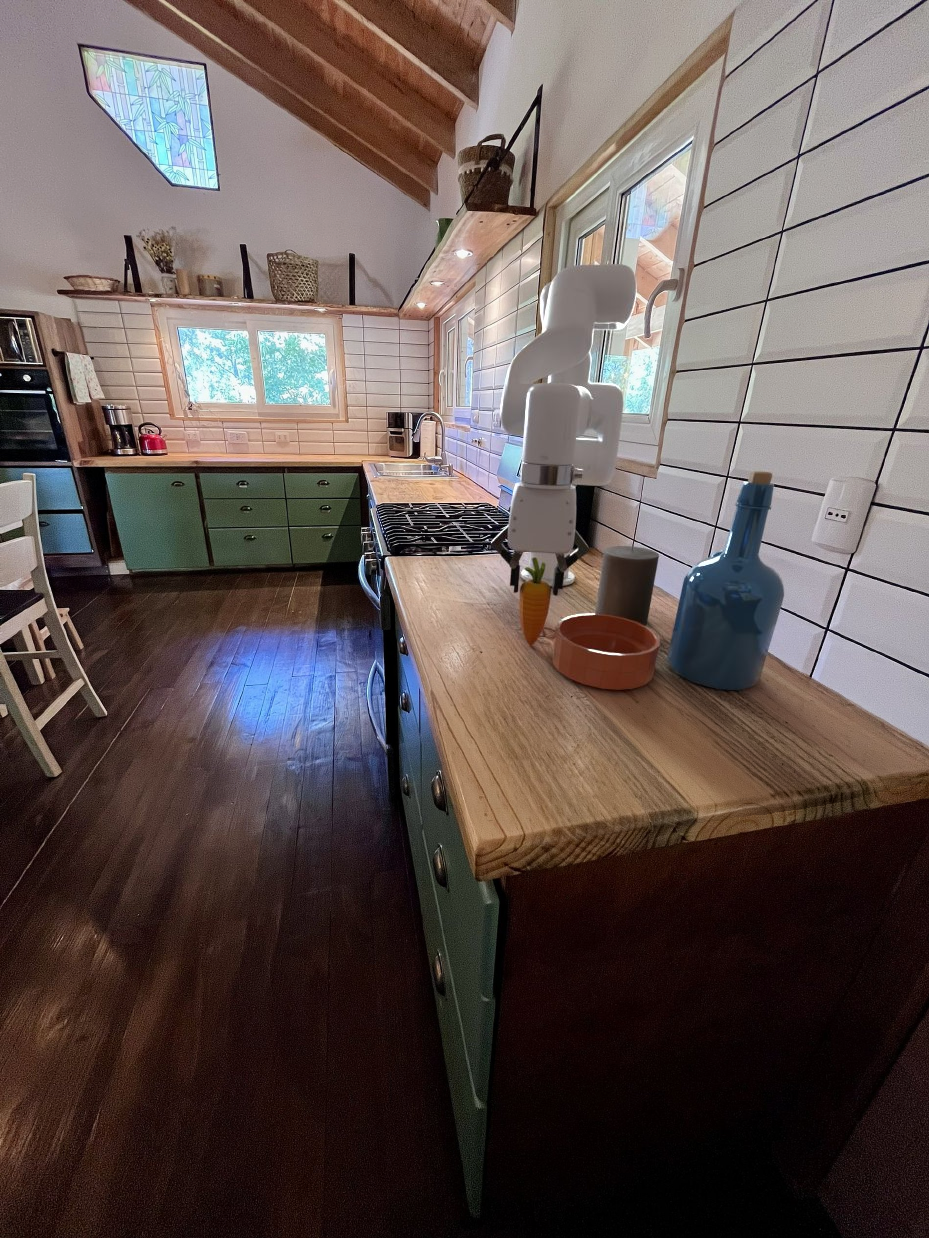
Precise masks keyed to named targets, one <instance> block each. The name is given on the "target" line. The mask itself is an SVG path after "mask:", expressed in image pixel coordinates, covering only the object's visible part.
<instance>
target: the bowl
mask: <svg viewBox="0 0 929 1238" xmlns="http://www.w3.org/2000/svg"><path fill="white" fill-rule="evenodd" d="M554 627H555V629H554V637H553V646H552V655H551V658H552V665H553V666H554V667H555V669H556V670H557V671H558V672H559V673H560V674H562V675H563V676H565V677H566V678H568V679H570V680H572V681H575V682H577V683H580V684H581V685H586V686H589V687H594V688H598V689H604V690H615V691H621V690H632V689H637V688H640V687H642V686H645V685H647V684H648V683H650V682H651V681H652V680H653V678H654V674H655V669H656V664H657V660H658V655H659V650H660V649H659V648H660V645H661V639H660V637H659V635H658V633H656V632H655V631H654V630H653V629H651V628H650V627H649V626H645V625H643V624H641V623H638V622H636V621H633V620H629V619H626V618H622V617H617V616H612V615H605V614H595V613H578V614H573V615H568V616H566V617H564V618H562V619H560V620H559V621H558V622H557V624H555V626H554Z"/></svg>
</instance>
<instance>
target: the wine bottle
mask: <svg viewBox="0 0 929 1238" xmlns="http://www.w3.org/2000/svg"><path fill="white" fill-rule="evenodd" d="M772 478H773V473H772V472H770V471H761V470H754V471H750V473H749V475H748V479H747V480H745V481H743V483H742V485H741V488H740V491H739V494H738V496H737V498H736V499H737V500H736V502H735V503H734V506H735V510H734V514H733V516H732V517H733V518H732V522H731V525H730V529H729V532H728V536H727V539H726V543H725V546H724V549H722V550H719V551H716V552H714V553H712V554H711V555H709V556H708V557H707V558H703V559H701V560H700V561H698V562H695V564H694V565H692V566H691V568H690V569H689V571H688V573H687V574H686V575H685V577H683V582H682V587H681V592H680V596H679V601H678V606H677V610H676V614H675V619H674V624H673V629H672V632H671V633H672V634H671V639H670V642H669V648H668V652H667V662H668V665H670V667H671V668H672V669H673V671H674V672H675V673H676V674H677V675H679V676H680V677H683V678H684V679H687V680H688V681H690V682H692V683H694V684H697V685H701V686H704V687H709V688H712V689H716V690H725V691H726V690H727V691H742V690H746V689H749V688H751V687H754V686H756V685H757V684H758V683H759V681H760V679H761V675H762V673H763V669H764V665H765V662H766V659H767V655H768V653H769V649H770V645H771V643H772V639H773V635H774V632H775V628H776V626H777V622H778V618H779V615H780V612H781V609H782V605H783V601H784V598H785V584H784V580H783V578H782V576H781V574H779V572H777V571H776V570H775V569H774V568H772V567H771V566H769V565H768V564H766V563H765V562H764V561H762V559H761V557H760V554H759V553H760V550H761V545H762V541H763V536H764V531H765V527H766V523H767V519H768V514H769V510H772V502H773V494H774V489H775V488H774V487H775V484H774V483H772Z"/></svg>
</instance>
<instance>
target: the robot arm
mask: <svg viewBox="0 0 929 1238" xmlns="http://www.w3.org/2000/svg"><path fill="white" fill-rule="evenodd" d="M637 287H638V285H637V277H636V274H635V272H634V269H632V268H631V267H630V266H628V265H626V264H621V263H613V264H609V263H608V264H575V265H571V266H567V267H564V268H563V269H561V270H559V272H557V273H556V274H555V276H554V278H552V281H550V282H548V283H546V285H544V286H543V288H542V290H541V293H540V299H539V300H540V301H539V309H540V310H539V313H540V321H541V326H542V330H541V333H539V334H538V335H537V336H535V337H534V338H533V339H531V340H530V341H529V342H528V343H527V344H526V345H524V346H523V348H521V350H519V352H517V354H516V355H515V356H514V357H513V359H512V360H511V361H510V364H509V366H508V368H507V371H506V376H505V380H504V384H503V389H502V394H501V400H500V408H499V417H500V418H499V419H500V424H501V426H502V429H503V430H504V431H505V432H506V433H508V434H509V435H511V436H518V437H523V439H522V452H521V453H522V454H521V465H520V466H521V467H520V482H516V483H514V487H513V491H512V494H511V495H512V496H511V500H510V507H509V516H508V523H507V526H505V527H504V528H503V529H502V530H501V531H500V532H499V533H498V534H497V535H495V537H494V538H493V539H492V540H491V542H490V546H491V547H492V548H493V550H495V551H496V552H497V553H498V555H500V556H501V558H502V559H503V560H504V561H505V562H506V563H507V565H508V566H509V568H510V577H509V578H510V579H509V586H511V587H513V593H514V594H518V593H519V585H520V576H521V578H522V579H523V580H524V582H525V581H527V580H530V579H533V578H532V576H531V574H530V573H529V572H527V571H526V570H525V568H524V569H522V570H521V565H520V561H521V559H522V556H523V554H524V553H529V556H528V566H527V567H529V568H531V569H532V570H534V571H535V569H534V565H533V562H532V558H533V557H535V558H537V561H538V565H539V570H540V568H541V564H542V562H543V563H545V564H546V565H545V571H544V574H543V577H542V579H541V580H542V581H545V582H546V583H547V584H549V586H550V587H551V591H552V595H553V596H555V597H558V595H559V590H563V587H564V586H569V585H571V584H573V583H575V579H576V576H575V574H574V573H573V572H572V571H570V567H572V566H573V565H574V564H575V563H576V562H577V561H579V560H580V559H581V558H582V557H584V556H585V555H587V554H588V553H589V552H590V547H589V545H588V544H587V543H586V541H585V540H584V539H583V537H582V536H581V534H579V532H578V531H577V530H576V525H577V524H576V523H577V490H576V485H579V486H593V487H594V486H595V487H600V486H603V487H604V486H607V485H608V484H610V483H611V481H612V480H613V478H614V476H615V472H616V467H617V461H618V452H619V445H620V437H621V429H622V420H623V413H624V412H623V411H624V394H623V390H622V389H621V388H620V387H619V386H618V385H616V384H615V383H610V382H609V383H608V382H592V381H590V375H591V367H592V360H593V359H592V354H591V350H592V347H593V343H594V335H595V334H594V333H595V331H618V330H622V329H624V328H625V327H626V325H627V324H628V322H629V320H630V319H631V317H632V314H633V312H634V309H635V305H636V300H637V292H638V291H637V290H638V288H637ZM546 377H547V382H539V383H535V382H536V381H539V380H541V379H544V378H546ZM585 433H594V434H595V435H596V436H597V438H581V437H582V436H583V435H584V434H585ZM579 437H580V438H579ZM506 540H507V546H508V547H505V545H504V542H505V541H506ZM574 545H575V546H576V547H577V548H576V549H575V550H574V551H573V548H574ZM509 549H511V550H513V552H511V551H510V550H509ZM520 572H521V573H520Z"/></svg>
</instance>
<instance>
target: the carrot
mask: <svg viewBox="0 0 929 1238" xmlns="http://www.w3.org/2000/svg"><path fill="white" fill-rule="evenodd" d="M532 562H533V565H534V569H535V571H534V570H532V569H531V568H529V567H528V566H526V567H525V568H524V569H525V570H526V571H527V572H529V573H530V574H531V576H532V578H533V579H530V580H527V581H525V580H524V581H523V582H522V583H521V584H520V589H519V610H518V611H519V619H520V628H521V631H522V634H523V637H524V639H525V641H526V643H527V645H529V647H532V646H533V645H535V643H536V642H537V640H538V639H539V637H540V635H541V633H542V632H543V630H544V627H545V624H546V622H547V618H548V614H549V610H550V603H551V596H552V586H549V584H547V583H546V582H545V581H542V580H541V579H542V577H543V574H544V571H545V565H546V564H545V563H543V562H542V564H541V568H540V570H539V565H538V561H537V558H535V557H533V558H532Z"/></svg>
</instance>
